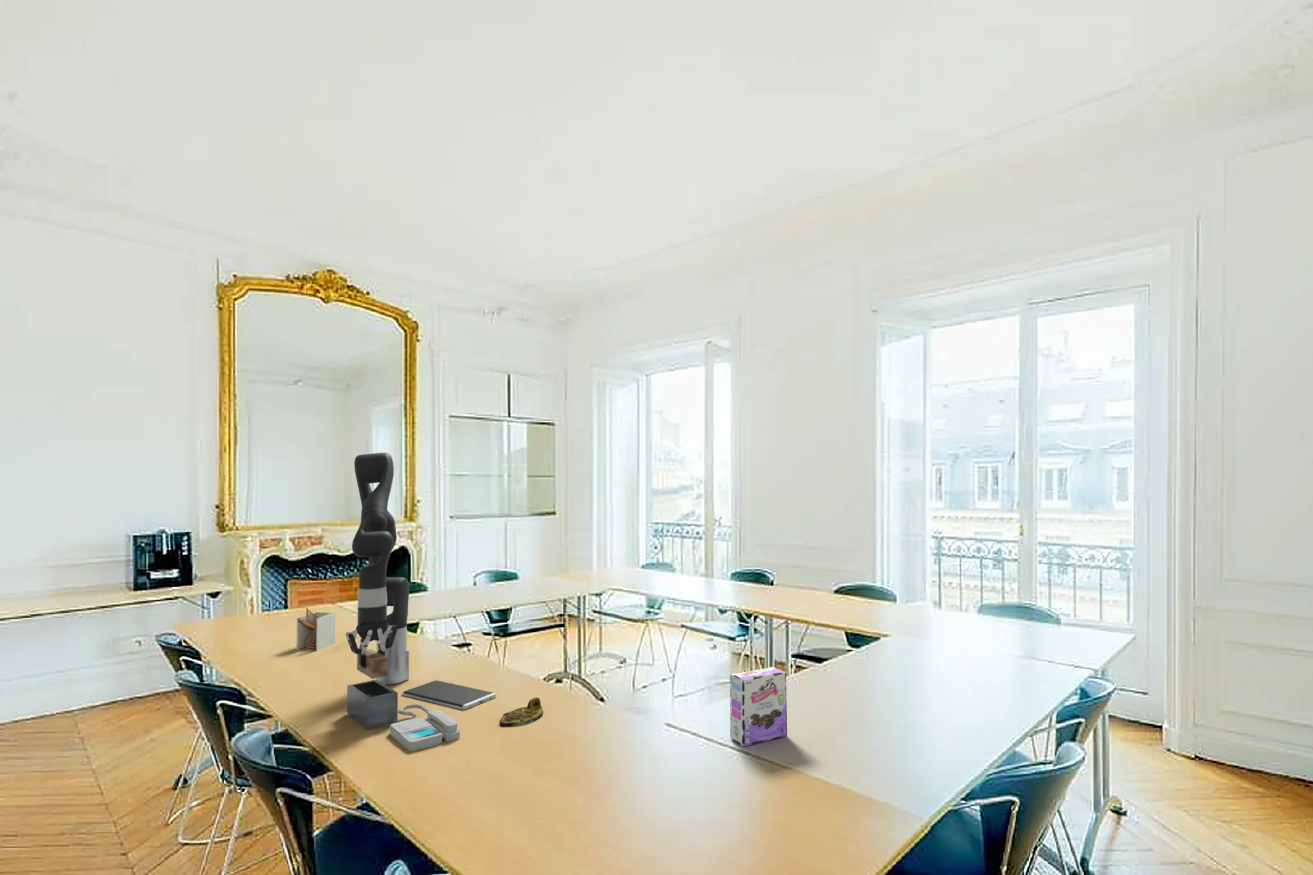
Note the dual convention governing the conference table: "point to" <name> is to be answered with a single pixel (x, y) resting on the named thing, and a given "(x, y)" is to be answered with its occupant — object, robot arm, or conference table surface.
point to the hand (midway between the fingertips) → (371, 665)
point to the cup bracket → (372, 704)
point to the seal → (523, 714)
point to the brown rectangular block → (374, 664)
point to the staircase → (315, 630)
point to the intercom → (424, 728)
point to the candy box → (758, 706)
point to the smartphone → (449, 694)
